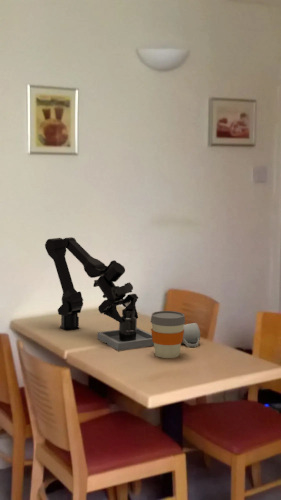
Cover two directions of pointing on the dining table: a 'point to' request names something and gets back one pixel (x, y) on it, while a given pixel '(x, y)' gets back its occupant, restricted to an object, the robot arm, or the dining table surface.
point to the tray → (113, 340)
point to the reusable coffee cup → (167, 333)
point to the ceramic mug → (191, 335)
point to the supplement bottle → (128, 326)
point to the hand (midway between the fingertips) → (129, 320)
